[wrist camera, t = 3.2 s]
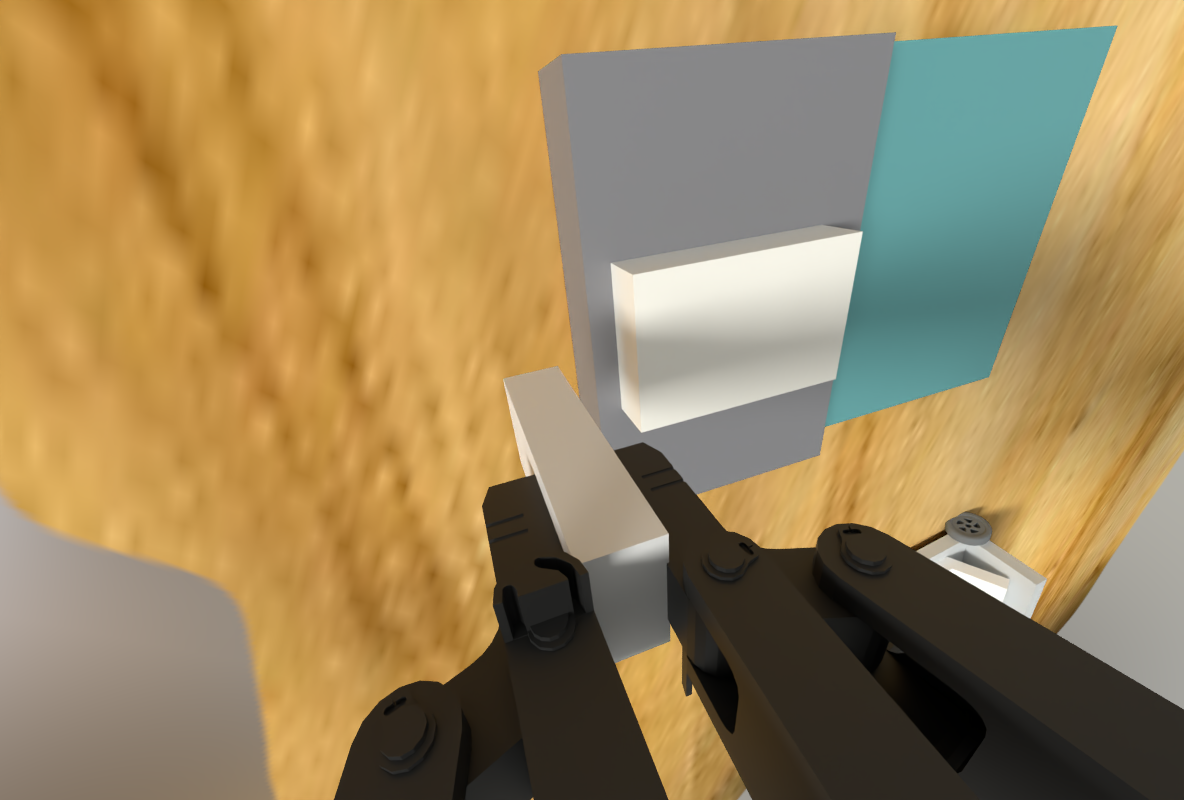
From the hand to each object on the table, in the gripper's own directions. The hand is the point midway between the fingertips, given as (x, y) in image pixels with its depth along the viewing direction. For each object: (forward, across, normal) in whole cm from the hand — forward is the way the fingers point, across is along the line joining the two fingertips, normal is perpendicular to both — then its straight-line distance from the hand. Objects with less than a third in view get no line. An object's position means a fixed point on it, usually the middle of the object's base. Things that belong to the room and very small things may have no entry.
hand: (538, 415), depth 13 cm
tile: (+4, -9, 0) cm, 10 cm away
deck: (+7, -9, 0) cm, 12 cm away
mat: (+7, -23, 0) cm, 24 cm away
